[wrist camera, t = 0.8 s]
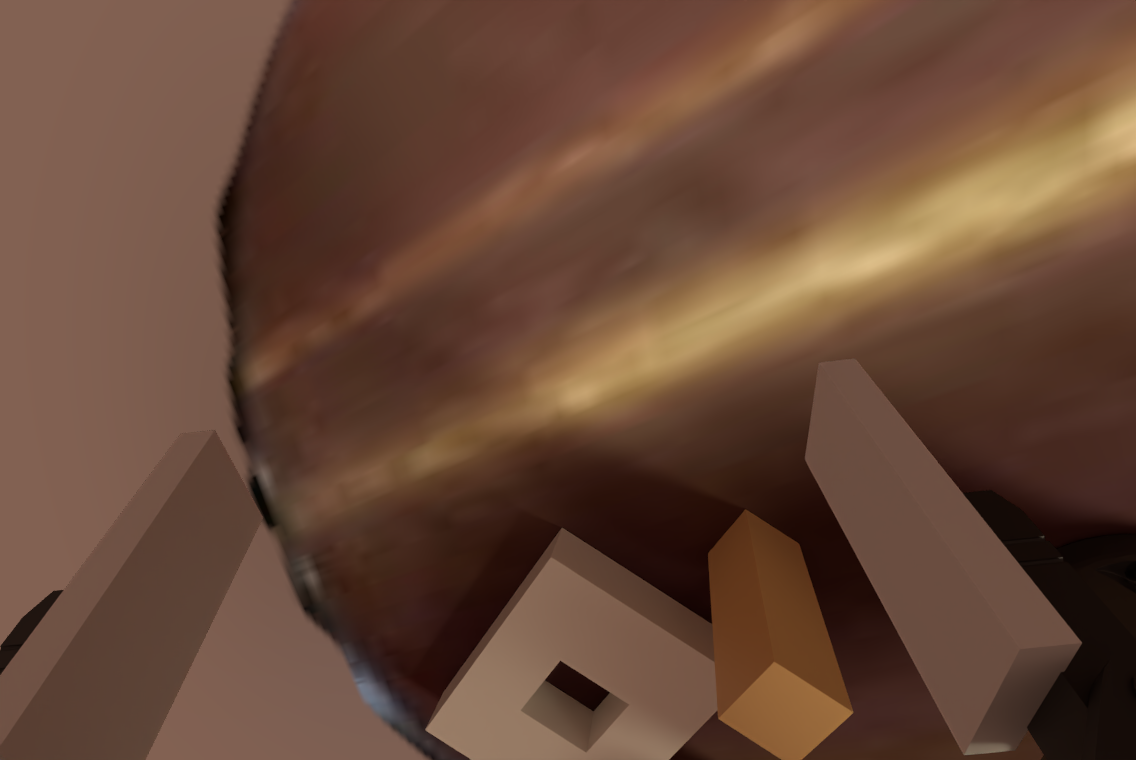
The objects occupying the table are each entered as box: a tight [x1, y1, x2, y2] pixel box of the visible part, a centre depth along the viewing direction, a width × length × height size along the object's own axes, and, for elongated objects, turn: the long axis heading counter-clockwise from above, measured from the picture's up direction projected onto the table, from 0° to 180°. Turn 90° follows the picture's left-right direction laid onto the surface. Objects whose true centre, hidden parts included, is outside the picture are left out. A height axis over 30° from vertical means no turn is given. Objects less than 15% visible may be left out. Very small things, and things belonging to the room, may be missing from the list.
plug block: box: [708, 509, 854, 760], centre depth 37 cm, size 4×4×15 cm
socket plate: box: [425, 528, 718, 760], centre depth 48 cm, size 16×20×4 cm
